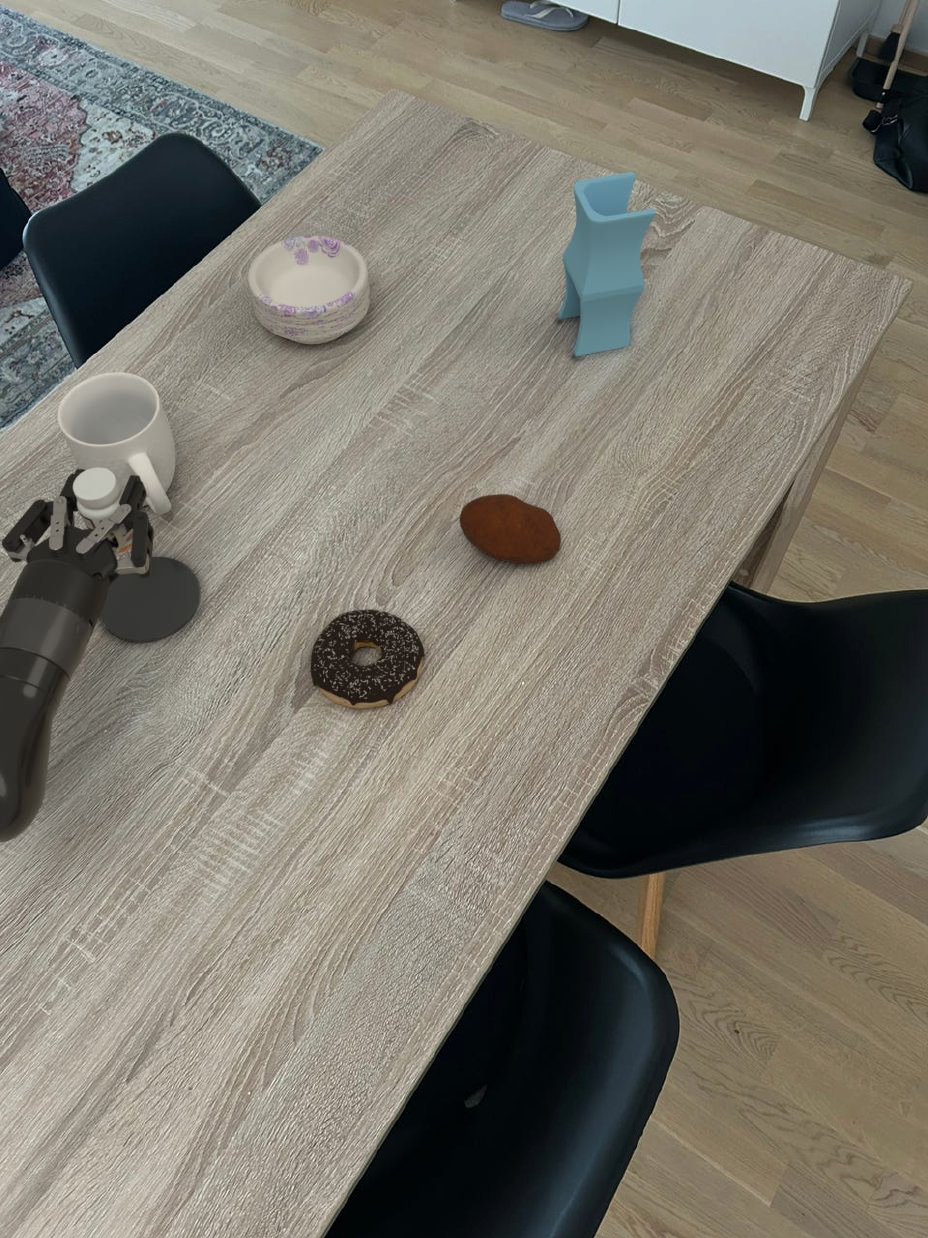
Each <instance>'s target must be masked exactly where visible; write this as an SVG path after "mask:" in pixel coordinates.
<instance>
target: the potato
mask: <svg viewBox="0 0 928 1238" xmlns="http://www.w3.org/2000/svg"><path fill="white" fill-rule="evenodd" d="M554 519H555V518H554V517H553V515H551V514H550V513H549V512H548V510H546V509H544V508H542V507H539V506H537V505H533V504H531V503H528V502H525V501H523V500H522V499H521V498H519V497H517V496H514V495H511V494H508V493H498V494H497V493H496V494H489V495H483V496H479V497H477V498H475V499H472V500H471V501H469V502H468V503H465V505H464V506H463V507H462V509H461V511H460V516H459V520H458V521H459V524H460V525H459V526H460V528H461V531H462V533H463V535H464V537H465V538H466V539H467V541H469V543H471V544H472V545H473V546H474V547H475V548H477V549H478V550H479V551H481V552H482V553H484V554H486V555H488V556H489V557H491V558H493V559H497V560H501V561H505V562H510V563H516V564H524V565H525V564H527V565H529V564H535V565H536V564H540V563H545V562H547V561H550V560H552V559H554V558H555V556H556V555H557V554H558V553H559V551H560V550H561V545H562V544H561V543H562V535H561V532H560V530H559V529H558V525H557V524H556V522H555V520H554Z"/></svg>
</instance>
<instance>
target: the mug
mask: <svg viewBox="0 0 928 1238" xmlns="http://www.w3.org/2000/svg"><path fill="white" fill-rule="evenodd" d="M56 417H57V418H56V419H57V424H58V427H59V429H60V432H61V434H62V435H63V439H64V440H65V442H66V445H67V446H68V448H69V450H70V453H71V455H72V456H73V457H74V460H75V462H76V463H77V464H78V466H79V469H85V470H88V469H91V468H106V469H108V470H110V471H111V472H112V473H113V474H114V475H115V477H116V479H117V481H118V483H120V484H121V485H122V486H123V487H124V489H125V487H126V484H127V482H128V480H129V477H130V475H137V476H139V477H140V479H141V481H142V482H143V484H144V487H145V489H146V493H147V496H146V498H145V501H144V503H143V505H142V507H146V506H149V507H150V508H151V510H152V511H153V512H154V513H155V514H156V515H158V516H161V515H165V514H167V513H169V512H170V511H171V510H172V503H171V501H170V499H169V497H168V495H167V492H168V490H169V488H170V486H171V484H172V482H173V480H174V476H175V470H176V456H177V455H176V446H175V440H174V437H173V431H172V429H171V424H170V423H169V420H168V416H167V414H166V411H165V407H164V406H163V403H162V400H161V398H160V396H159V393H158V392H157V389H156V388H155V387H154V385H152V383H151V382H149V381H148V380H146V379H145V378H144V377H141V376H139V375H137V374H134V373H130V372H124V371H123V372H122V371H113V372H104V373H99V374H96V375H93V376H90V377H89V378H86V379H84V380H82V381H80V382H79V383H77V384H76V385H75V386H73V387H72V388H71V389H70V390H69V391H68V392H66V394H65V395H64V396H63V398H62V400H61V401H60V403H59V405H58V409H57V415H56Z"/></svg>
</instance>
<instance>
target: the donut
mask: <svg viewBox="0 0 928 1238" xmlns="http://www.w3.org/2000/svg"><path fill="white" fill-rule="evenodd" d="M364 647H371V648H374V649H376V650H377V651H378V652H379V653H380V654H381V655H380V657H379V658H378V659H377V660H376V661H374V662H373V663H370V664H368V665H365V664H364V665H363V664H362V665H361V664H358V663H356V662H354V661H353V655H354V653H355V651H356V650H358V649H359V648H364ZM424 657H426V653H425V648H424V645H423V642H422V640H421V638H420V636H419V634H418V632H417V631H416V630H415V628H413V627H412V626H411V625H410V624H408V622H406V621H404V620H403V619H402V618H401V617H398V616H397V615H396V614H392V613H391V612H390V613H389V612H387V611H383V610H377V609H354V610H349V611H346V612H343V613H341V614H339V615H337V616H336V617H334V618H333V619H331V621H330V622H329V623H328V624H327V625H326V627H325V628H324V629H323V630H322V631H321V633H320V634H319V635H318V637H317V638H316V640H315V642H314V644H313V646H312V651H311V655H310V676H311V679H312V684H313V687H317V688H318V689H319V691H320V692H321V694H323V696H325V697H326V698H328V699H329V700H330V701H332V702H333V703H335V704H338V705H340V706H342V707H345V708H352V709H359V710H361V709H371V708H372V709H373V708H380V707H383V706H386V705H392V704H393V703H394V702H396V701H397V700H398V699H400V698H402V697H403V696H404V695H406V693H408V692H409V691H410V690H411V689H412V688H413V687H414V685H415V683H417V681H418V679H419V676H420V674H421V672H422V667H423V658H424Z"/></svg>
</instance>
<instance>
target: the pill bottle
mask: <svg viewBox="0 0 928 1238" xmlns="http://www.w3.org/2000/svg"><path fill="white" fill-rule="evenodd" d="M73 491H74V494H75V496H76V498H77V508H78V513H79V515H80V517H81V518H82V520H83V522H84V524H85V525H86V527H87V528H86V529H95V528H96V527H97V526H98V525H99V524H100V523H101V521H102V520H103V519H105V518H107V519H108V518H110V517H111V515H112V514H113V513H114V512H115V511H116V510H117V509H118V508H119V507H120V504H119V501H120V499H121V496H122V494H123V492H124V487H123V486H122V485H121V484H120V483H118V481H117V479H116V477H115V475H114V474H113V473H112V472H111V471H110V470H108V469H106V468H91V469H88V470H86V471H84V472H82V473H81V474H80V475H79V476H78V477H77V478H76V479H75V481H74V483H73ZM107 538H108V536H107ZM132 538H133V532H132V533H131V534H130V535H129V536H128V538H127V539H126V543H125V546H124V547H123V548H122V549H121V550H120V552H119V553H118V554H117V555H116V556H121V555H125V553H126V552H127V549H128V548H132ZM108 540H109V538H108Z"/></svg>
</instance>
